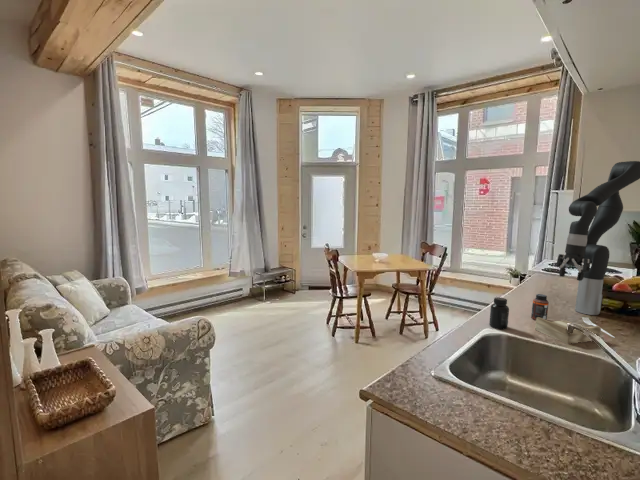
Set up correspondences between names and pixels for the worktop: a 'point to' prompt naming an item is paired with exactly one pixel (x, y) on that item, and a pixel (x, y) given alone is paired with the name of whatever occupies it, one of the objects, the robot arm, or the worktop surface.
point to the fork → (595, 325)
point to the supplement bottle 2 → (540, 307)
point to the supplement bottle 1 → (499, 313)
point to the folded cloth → (563, 331)
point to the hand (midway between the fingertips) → (570, 278)
